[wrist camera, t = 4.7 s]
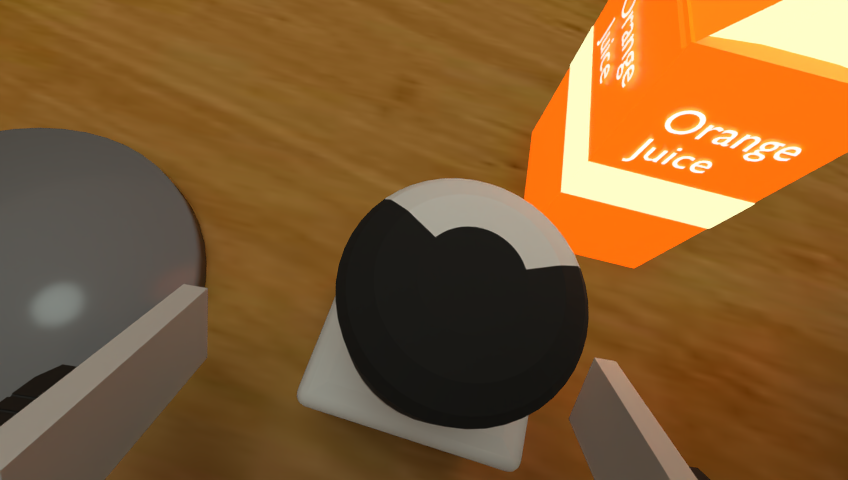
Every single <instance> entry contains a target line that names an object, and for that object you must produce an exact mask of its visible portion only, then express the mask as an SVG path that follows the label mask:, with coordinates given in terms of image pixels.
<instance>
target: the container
mask: <svg viewBox="0 0 848 480" xmlns="http://www.w3.org/2000/svg"><path fill="white" fill-rule="evenodd" d="M587 327H588V298H587V292H586V286H585V282H584V279H583V275H582V272H581V269H580V266H579V264H578V262H577V260H576V257H575V255H574V253H573V251H572V250H571V248H570V246H569V244H568V243H567V241H566V239H565V238H564V237H563V235H562V234H561V233H560V232H559V230H558V229H557V228H556V226H555V225H554V224H553V223H552V222H551V221H550V220H549V219H548V218H547V217H546V216H545V215H544V214H543V213H542V212H540V211H539V210H538V209H537V208H535V207H534V206H533V205H532V204H530V203H529V202H527V201H526V200H524V199H522V198H521V197H519V196H518V195H516V194H514V193H511V192H509V191H507V190H505V189H503V188H500V187H497V186H495V185H492V184H489V183H485V182H480V181H476V180H469V179H459V178H451V179H437V180H430V181H425V182H421V183H418V184H414V185H411V186H409V187H406V188H404V189H402V190H399V191H397V192H396V193H394V194H392V195H390V196H389V197H387V198H385V199H384V200H383V201H381V202H380V203H379V204H378V205H376V206H375V207H374V208H373V209H372V210H371V211H370V212H369V213H368V214H367V215H366V216H365V217H364V218H363V219H362V220H361V222H360V223H359V224H358V226H357V227H356V229H355V230H354V231H353V233H352V235H351V237H350V238H349V240H348V242H347V244H346V246H345V248H344V251H343V254H342V257H341V260H340V263H339V268H338V273H337V279H336V296H335V299H334V301H333V303H332V306H331V308H330V311H329V313H328V316H327V318H326V321H325V323H324V326H323V328H322V331H321V333H320V336H319V338H318V341H317V343H316V346H315V348H314V351H313V353H312V356H311V358H310V360H309V363H308V365H307V368H306V370H305V373H304V375H303V378H302V380H301V383H300V385H299V388H298V391H297V398H298V401H299V403H301V404H302V405H304V406H306V407H309V408H312V409H315V410H318V411H321V412H324V413H327V414H330V415H334V416H337V417H340V418H343V419H346V420H349V421H352V422H355V423H358V424H361V425H364V426H367V427H371V428H374V429H377V430H380V431H383V432H386V433H389V434H392V435H395V436H398V437H401V438H404V439H408V440H411V441H414V442H417V443H420V444H423V445H426V446H429V447H432V448H435V449H438V450H442V451H445V452H448V453H451V454H454V455H457V456H460V457H463V458H466V459H469V460H472V461H475V462H479V463H482V464H485V465H488V466H491V467H494V468H497V469H500V470H503V471H510V472H512V471H514V470H515V469H517V468H518V467H519V465H520V463H521V458H522V451H523V445H524V439H525V433H526V427H527V421H528V415H529V414H531V413H533V412H535V411H536V410H538V409H540V408H541V407H542V406H543V405H545V404H546V403H547V402H548V401H550V400H551V399H552V398H553V397H554V396H555V395H556V394H557V393H558V392H559V390H560V389H561V388H562V387H563V386H564V385H565V384H566V382H567V381H568V379H569V377H570V376H571V374H572V373H573V371H574V370H575V368H576V365H577V363H578V361H579V358H580V356H581V354H582V351H583V347H584V343H585V340H586V336H587Z"/></svg>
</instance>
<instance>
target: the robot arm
mask: <svg viewBox="0 0 848 480" xmlns="http://www.w3.org/2000/svg"><path fill="white" fill-rule="evenodd" d="M207 314H208V288H204V287H198V286H192V285H187V284H183V285H182V286H181V287H179V288H178V289H177V290H175V291H174V292H173V293H172V294H170V295H169V296H168V297H166V298H165V299H164V300H163V301H161V302H160V303H159V304H157V305H156V306H155V307H154V308H152V309H151V310H150V311H148V312H147V313H146V314H145V315H143V316H142V317H141V318H139V319H138V320H137V321H136V322H134V323H133V324H132V325H130V326H129V327H128V328H127V329H125V330H124V331H123V332H121V333H120V334H119V335H118V336H116V337H115V338H114V339H112V340H111V341H110V342H109V343H107V344H106V345H105V346H103V347H102V348H101V349H100V350H98V351H97V352H96V353H94V354H93V355H92V356H91V357H89V358H88V359H87V360H85V361H84V362H83V363H82V364H80V365H79V366H78V367H76V366H70V365H64V364H62V365H60V366H58V367H56V368H53V369H51V370H49V371H47V372H45V373H42V374H40V375H38V376H36V377H34V378H33V379H31V380H30V381H28V382H27V383H26V384H24V385H23V386H21V387H20V388H19V389H17V390H16V391H14V392H13V393H12V395H11V396H10V397H6V398H5V399H3V400H2V401H1V402H0V480H105V478H106V477H107V476H108V475H109V474H110V472H111V471H112V470H113V469H114V468H115V467H116V465H117V464H118V463H119V462H120V461H121V459H122V458H123V457H124V456H125V455H126V453H127V452H128V451H129V450H130V449H131V448H132V446H133V445H134V444H135V443H136V442H137V440H138V439H139V438H140V437H141V436H142V434H143V433H144V432H145V431H146V430H147V428H148V427H149V426H150V425H151V424H152V423H153V421H154V420H155V419H156V418H157V417H158V415H159V414H160V413H161V412H162V411H163V409H164V408H165V407H166V406H167V405H168V404H169V402H170V401H171V400H172V399H173V398H174V396H175V395H176V394H177V393H178V392H179V390H180V389H181V388H182V387H183V386H184V384H185V383H186V382H187V381H188V380H189V379H190V377H191V376H192V375H193V374H194V373H195V371H196V370H197V369H198V368H199V367H200V365H201V364H202V363H203V362H204V361H205V359H206V358H207ZM569 421H570V423H571V425H572V428H573V430H574V433H575V435H576V437H577V440H578V442H579V444H580V447H581V449H582V451H583V454H584V456H585V458H586V461H587V463H588V465H589V468H590V470H591V472H592V475H593V477H594V479H595V480H710V479H709V478H708V477H707V476H706V475H705V474H704V473H703V472H702V471H700V470H699V469H698V468H694V467H689V466H688V465H687V464H686V462H685V461H684V459H683V458H682V456H681V455H680V453H679V452H678V451H677V449H676V448H675V446H674V445H673V443H672V442H671V440H670V439H669V438H668V436H667V435H666V433H665V432H664V430H663V429H662V427H661V426H660V425H659V423H658V422H657V420H656V419H655V417H654V416H653V414H652V413H651V412H650V410H649V409H648V407H647V406H646V404H645V403H644V401H643V400H642V399H641V397H640V396H639V394H638V393H637V391H636V390H635V388H634V387H633V386H632V384H631V383H630V381H629V380H628V378H627V377H626V375H625V374H624V373H623V371H622V370H621V368H620V367H619V365H618V364H617V362H616V361H611V360H605V359H600V358H594V360H593V362H592V365H591V367H590V369H589V372H588V374H587V377H586V379H585V381H584V384H583V386H582V388H581V391H580V393H579V396H578V398H577V400H576V403H575V405H574V407H573V410H572V412H571V415H570V417H569Z"/></svg>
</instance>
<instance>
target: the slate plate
mask: <svg viewBox="0 0 848 480" xmlns="http://www.w3.org/2000/svg"><path fill="white" fill-rule="evenodd" d="M205 280H206V254H205V245H204V240H203V236H202V232H201V229H200V225H199V223H198V220H197V218H196V216H195V214H194V212H193V210H192V208H191V206H190V205H189V203H188V202H187V200H186V199H185V198H184V196H183V195H182V193H181V192H180V191H179V190H178V189H177V187H176V186H175V185H174V184H173V183H172V182H171V180H170V179H169V178H168V177H167V176H166V175H165V174H164V173H163V172H162V171H161V170H160V169H159V168H158V167H157V166H156V165H155V164H153V163H152V162H151V161H149V160H148V159H147V158H145V157H144V156H143V155H141V154H140V153H138V152H136V151H134V150H132V149H131V148H129V147H127V146H125V145H123V144H120V143H118V142H115V141H113V140H110V139H108V138H105V137H101V136H97V135H93V134H90V133H86V132H79V131H73V130H66V129H50V128H29V129H12V130H5V131H0V402H1V401H2V400H3V399H5V398H6V397H10V396H11V395H12V393H13V392H14V391H16V390H17V389H19V388H20V387H21V386H23V385H24V384H26V383H27V382H28V381H30V380H31V379H33V378H34V377H36V376H38V375H40V374H42V373H45V372H47V371H49V370H51V369H53V368H56V367H58V366H60V365H62V364H64V365H70V366H76V367H78V366H79V365H80V364H82V363H83V362H84V361H85V360H87V359H88V358H89V357H91V356H92V355H93V354H94V353H96V352H97V351H98V350H100V349H101V348H102V347H103V346H105V345H106V344H107V343H109V342H110V341H111V340H112V339H114V338H115V337H116V336H118V335H119V334H120V333H121V332H123V331H124V330H125V329H127V328H128V327H129V326H130V325H132V324H133V323H134V322H136V321H137V320H138V319H139V318H141V317H142V316H143V315H145V314H146V313H147V312H148V311H150V310H151V309H152V308H154V307H155V306H156V305H157V304H159V303H160V302H161V301H163V300H164V299H165V298H166V297H168V296H169V295H170V294H172V293H173V292H174V291H175V290H177V289H178V288H179V287H181V286H182V285H183V284H187V285H192V286H198V287H205Z"/></svg>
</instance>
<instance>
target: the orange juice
mask: <svg viewBox="0 0 848 480" xmlns="http://www.w3.org/2000/svg"><path fill="white" fill-rule="evenodd" d="M847 152H848V0H609V1H608V2H607V4H606V6H605V7H604V9H603V11H602V13H601V14H600V16H599V18H598V20H597V21H596V23H595V25H594V26H592V28H591V30H590V32H589V33H588V35H587V37H586V38H585V40H584V42H583V44H582V45H581V47H580V49H579V51H578V52H577V54H576V56H575V58H574V59H573V61H572V63H571V64H570V68H569V70H568V71H567V73H566V75H565V77H564V78H563V80H562V82H561V83H560V85H559V87H558V89H557V90H556V92H555V94H554V96H553V97H552V99H551V101H550V102H549V104H548V106H547V108H546V109H545V111H544V113H543V115H542V116H541V118H540V120H539V121H538V123H537V125H536V127H535V128H534V130H533V132H532V138H531V146H530V155H529V163H528V172H527V180H526V188H525V197H524V200H526V201H527V202H529V203H530V204H532V205H533V206H534V207H535V208H537V209H538V210H539V211H540V212H542V213H543V214H544V215H545V216H546V217H547V218H548V219H549V220H550V221H551V222H552V223H553V224H554V225H555V226H556V228H557V229H558V230H559V232H560V233H561V234H562V235H563V237H564V238H565V239H566V241H567V243H568V244H569V246H570V248H571V250H572V251H573V253H574V254H577V255H581V256H585V257H589V258H594V259H598V260H602V261H606V262H610V263H614V264H618V265H622V266H626V267H630V268H636V267H638V266H639V265H641V264H643V263H645V262H647V261H649V260H650V259H652V258H654V257H656V256H658V255H660V254H661V253H663V252H665V251H667V250H669V249H671V248H672V247H674V246H676V245H678V244H680V243H682V242H683V241H685V240H687V239H689V238H691V237H693V236H694V235H696V234H698V233H700V232H702V231H704V230H706V229H710V228H712V227H714V226H715V225H717V224H719V223H721V222H723V221H725V220H726V219H728V218H730V217H732V216H734V215H736V214H738V213H739V212H741V211H743V210H745V209H747V208H749V207H751V206H752V205H754V204H755V202H757V201H759V200H761V199H762V198H764V197H766V196H768V195H770V194H772V193H773V192H775V191H777V190H779V189H781V188H783V187H784V186H786V185H788V184H790V183H792V182H794V181H795V180H797V179H799V178H801V177H803V176H805V175H806V174H808V173H810V172H812V171H814V170H816V169H817V168H819V167H821V166H823V165H825V164H827V163H828V162H830V161H832V160H834V159H836V158H838V157H839V156H841V155H843V154H845V153H847Z"/></svg>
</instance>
